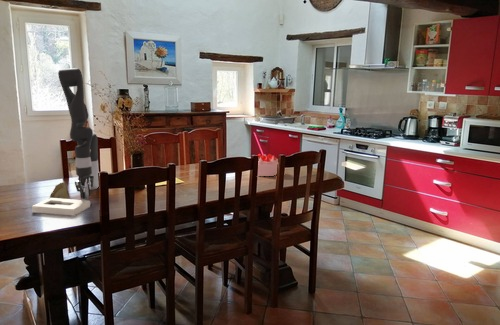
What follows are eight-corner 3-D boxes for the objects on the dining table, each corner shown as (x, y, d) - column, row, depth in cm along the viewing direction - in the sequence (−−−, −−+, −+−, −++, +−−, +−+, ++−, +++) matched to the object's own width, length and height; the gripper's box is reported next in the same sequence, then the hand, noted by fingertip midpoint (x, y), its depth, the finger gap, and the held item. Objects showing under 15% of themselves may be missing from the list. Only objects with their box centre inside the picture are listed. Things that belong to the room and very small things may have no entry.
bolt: (84, 203, 203) (83, 181, 200) (92, 203, 202) (91, 182, 200) (79, 206, 198) (77, 183, 196) (87, 206, 198) (86, 184, 195)
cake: (275, 178, 267) (276, 158, 264) (247, 176, 271) (248, 156, 268) (279, 172, 285) (280, 153, 282) (254, 170, 290) (254, 151, 287)
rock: (46, 200, 199) (67, 195, 203) (44, 185, 202) (65, 181, 206) (51, 206, 209) (71, 202, 212) (49, 192, 212) (69, 188, 215)
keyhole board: (51, 204, 200) (50, 197, 199) (90, 207, 197) (89, 200, 196) (32, 213, 186) (31, 206, 186) (73, 216, 183) (73, 209, 182)
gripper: (84, 162, 203) (86, 193, 207) (68, 168, 189) (70, 200, 193) (97, 163, 202) (99, 194, 206) (82, 168, 188) (84, 201, 192)
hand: (85, 197), depth 199 cm, fingers open, 4 cm apart
